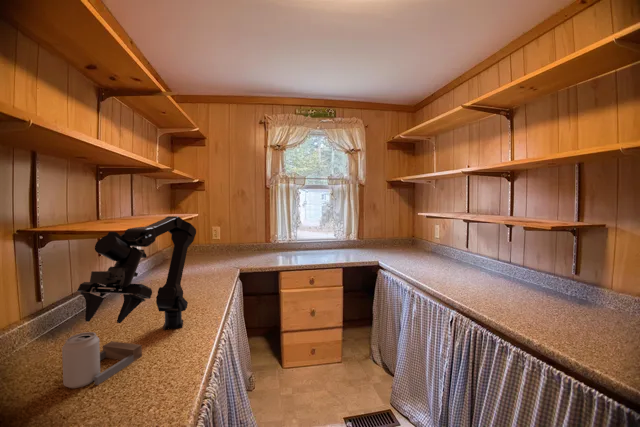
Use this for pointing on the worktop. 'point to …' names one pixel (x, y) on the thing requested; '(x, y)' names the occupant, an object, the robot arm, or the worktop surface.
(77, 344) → the can
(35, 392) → the worktop surface
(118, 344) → the stop block
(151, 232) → the robot arm
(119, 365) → the guide rails
